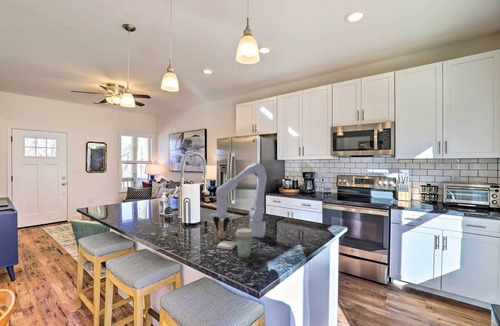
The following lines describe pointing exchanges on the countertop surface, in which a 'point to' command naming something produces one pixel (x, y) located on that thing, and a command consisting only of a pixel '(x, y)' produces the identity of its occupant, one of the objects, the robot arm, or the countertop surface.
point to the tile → (227, 245)
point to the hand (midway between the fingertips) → (221, 230)
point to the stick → (221, 229)
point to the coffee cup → (244, 241)
